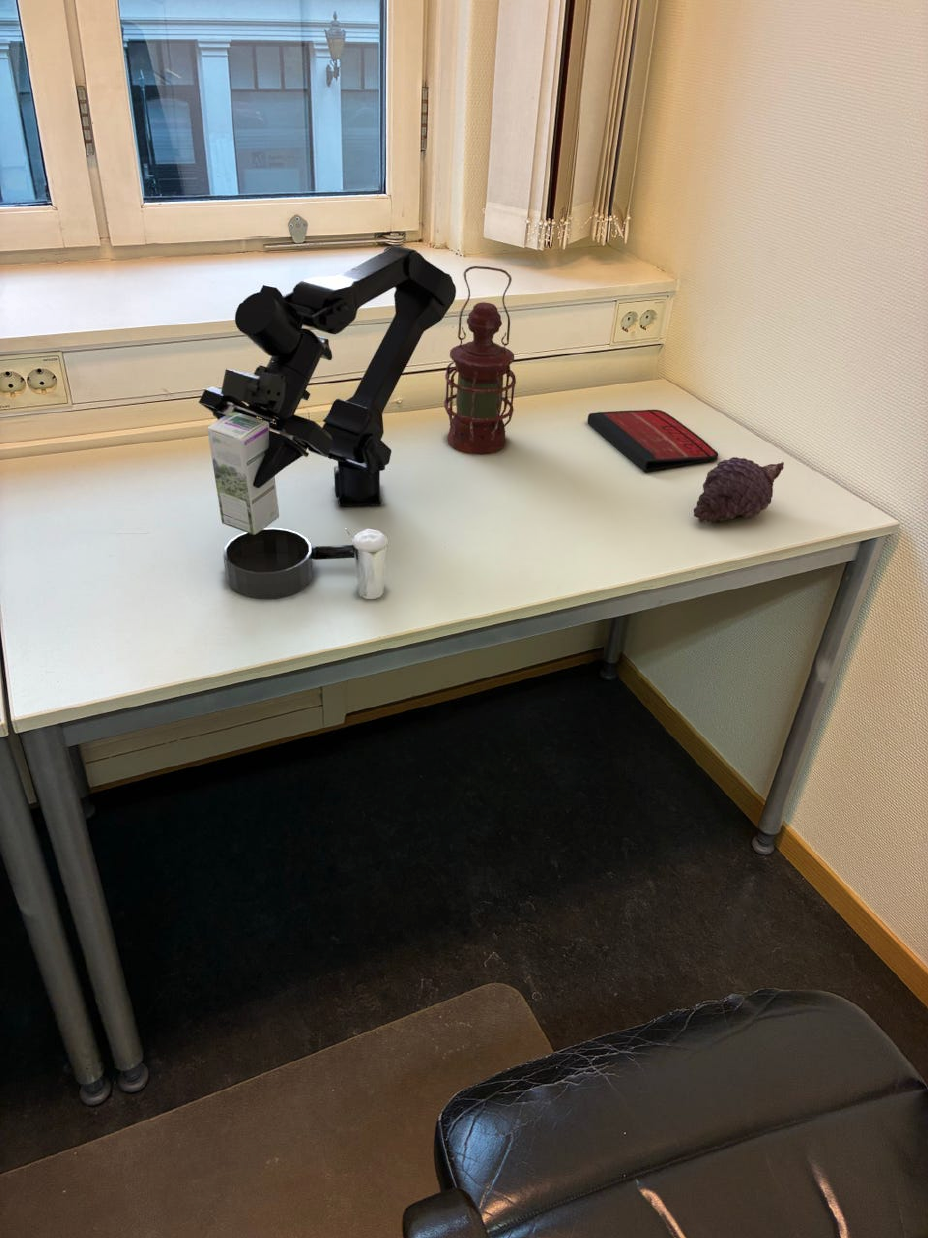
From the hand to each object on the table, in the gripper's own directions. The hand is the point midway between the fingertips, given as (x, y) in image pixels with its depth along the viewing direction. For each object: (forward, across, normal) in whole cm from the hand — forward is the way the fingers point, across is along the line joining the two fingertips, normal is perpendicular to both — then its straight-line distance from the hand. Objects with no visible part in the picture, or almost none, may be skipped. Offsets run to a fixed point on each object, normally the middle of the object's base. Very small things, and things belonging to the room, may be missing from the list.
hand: (237, 479), depth 119 cm
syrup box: (+4, 0, +6) cm, 7 cm away
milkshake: (+6, +17, +13) cm, 22 cm away
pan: (+9, +4, +10) cm, 14 cm away
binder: (-42, +29, +62) cm, 80 cm away
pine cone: (-30, +50, +50) cm, 77 cm away
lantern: (-28, +4, +48) cm, 56 cm away
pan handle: (+3, +12, +13) cm, 18 cm away
